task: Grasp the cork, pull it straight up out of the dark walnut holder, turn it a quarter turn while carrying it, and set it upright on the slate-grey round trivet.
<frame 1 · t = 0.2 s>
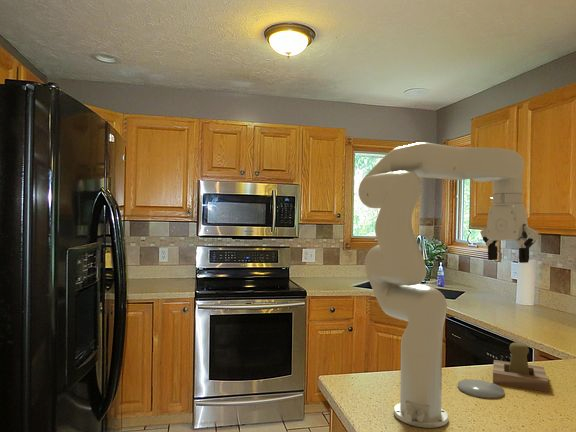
hand: (507, 261, 119), 37 cm above the counter, tool pointing down, fingers open, 9 cm apart
cork: (518, 380, 128), resting in walnut holder
walnut holder: (518, 379, 128), on the counter
trivet: (480, 389, 119), on the counter
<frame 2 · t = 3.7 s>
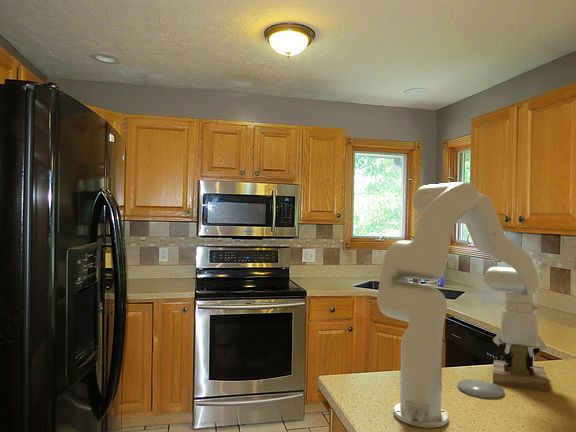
hand: (518, 366, 128), 4 cm above the counter, tool pointing down, fingers closed on cork, 4 cm apart
cork: (518, 380, 128), resting in walnut holder, touching gripper
when the fingers open (6 cm above the counter, at t = 10.0 s): cork drops 1 cm, resting on trivet.
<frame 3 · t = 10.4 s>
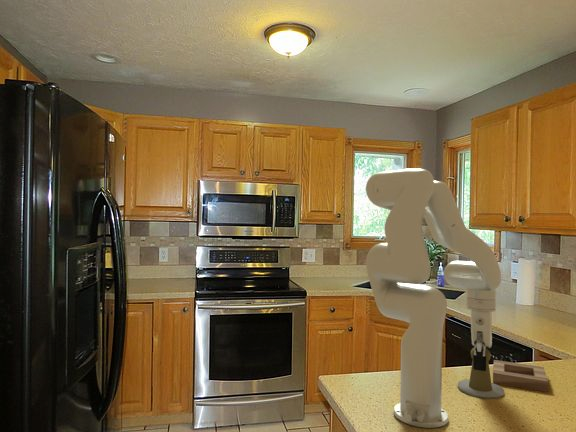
hand: (480, 365, 120), 7 cm above the counter, tool pointing down, fingers open, 9 cm apart
cork: (480, 388, 119), point 1 cm above the counter, touching trivet
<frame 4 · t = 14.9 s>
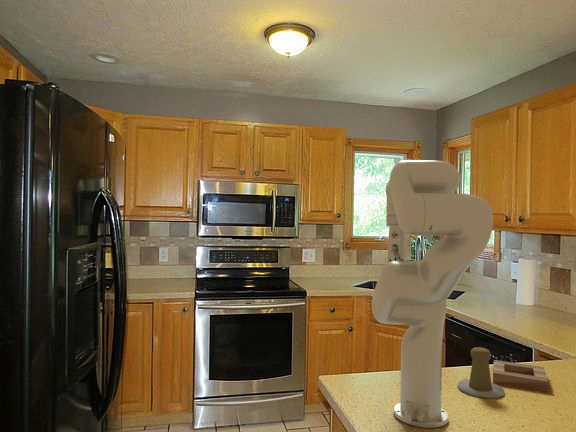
hand: (398, 279, 125), 30 cm above the counter, tool pointing down, fingers open, 9 cm apart
nothing on the counter moved.
at the end: cork 0.4 cm from the trivet (horizontally); cork tilted 0°; the gripper is holding nothing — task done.
